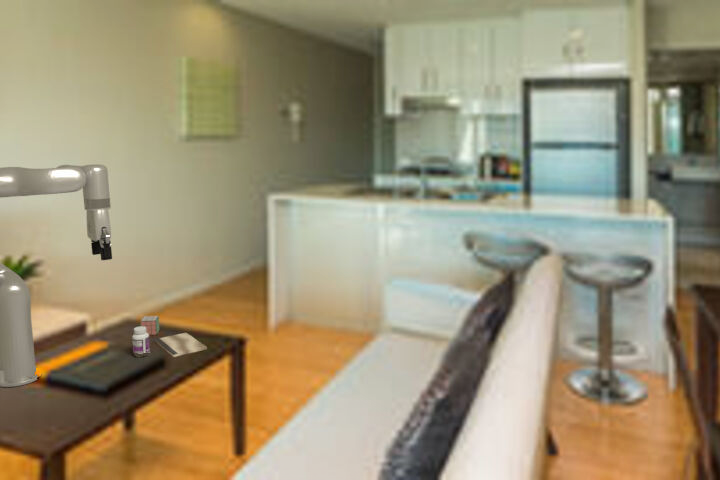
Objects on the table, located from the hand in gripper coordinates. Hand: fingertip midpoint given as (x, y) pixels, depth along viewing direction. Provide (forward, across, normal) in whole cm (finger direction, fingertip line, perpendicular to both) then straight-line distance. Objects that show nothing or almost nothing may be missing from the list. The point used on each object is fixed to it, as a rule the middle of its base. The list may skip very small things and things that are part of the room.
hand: (102, 256), depth 182 cm
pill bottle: (+35, +3, +9) cm, 37 cm away
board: (+36, +2, +23) cm, 42 cm away
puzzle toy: (+36, -17, +19) cm, 44 cm away
